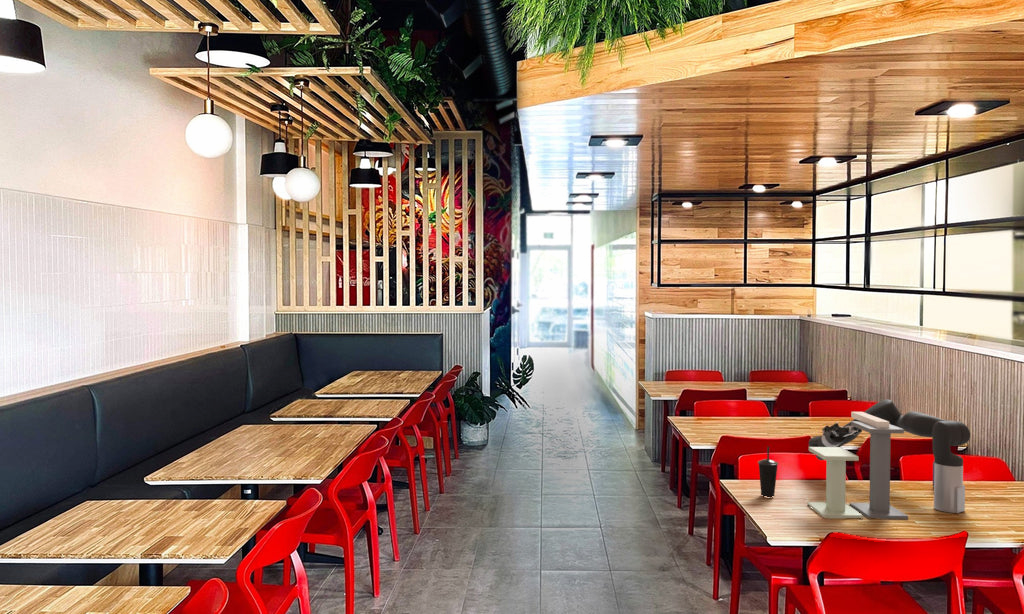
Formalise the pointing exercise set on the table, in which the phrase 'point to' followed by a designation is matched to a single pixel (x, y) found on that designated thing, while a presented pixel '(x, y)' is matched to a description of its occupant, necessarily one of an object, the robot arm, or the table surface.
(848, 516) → the low shelf
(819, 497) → the table surface
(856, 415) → the pale pink beam
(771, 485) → the drinking cup
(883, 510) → the high shelf
